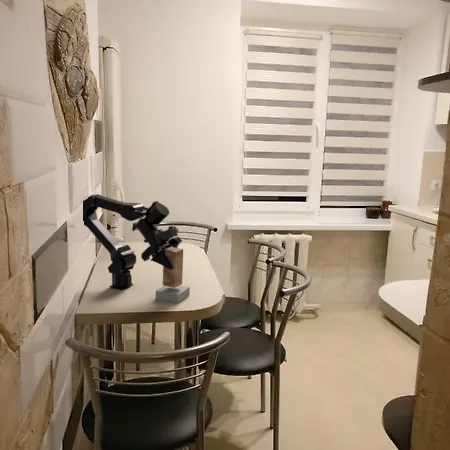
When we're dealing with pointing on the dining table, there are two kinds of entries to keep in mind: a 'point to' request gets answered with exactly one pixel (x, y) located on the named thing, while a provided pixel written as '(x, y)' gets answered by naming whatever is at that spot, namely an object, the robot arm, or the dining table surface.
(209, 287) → the dining table surface
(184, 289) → the slate plinth
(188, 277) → the dining table surface
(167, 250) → the walnut pillar
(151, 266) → the dining table surface
